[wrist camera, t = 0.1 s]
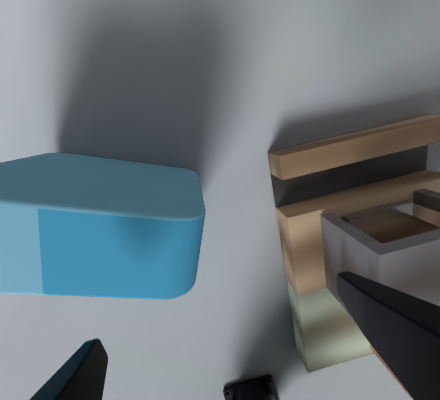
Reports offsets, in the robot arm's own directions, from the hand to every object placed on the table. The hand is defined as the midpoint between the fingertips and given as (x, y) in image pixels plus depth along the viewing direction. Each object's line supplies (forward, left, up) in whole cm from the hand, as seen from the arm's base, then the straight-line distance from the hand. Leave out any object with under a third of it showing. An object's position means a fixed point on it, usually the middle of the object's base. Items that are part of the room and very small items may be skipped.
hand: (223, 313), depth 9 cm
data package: (+3, +6, -15) cm, 16 cm away
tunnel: (-10, -15, -15) cm, 23 cm away
